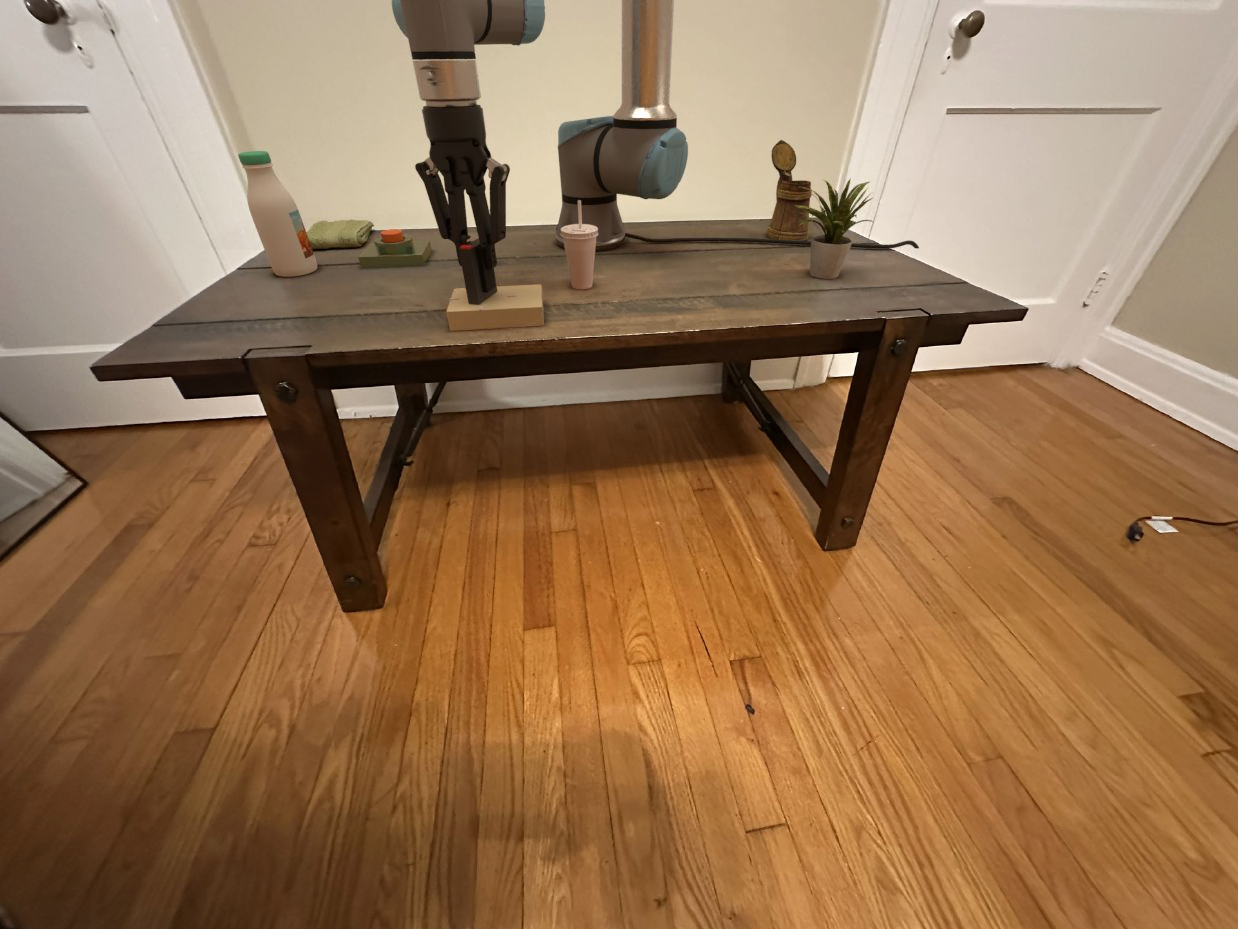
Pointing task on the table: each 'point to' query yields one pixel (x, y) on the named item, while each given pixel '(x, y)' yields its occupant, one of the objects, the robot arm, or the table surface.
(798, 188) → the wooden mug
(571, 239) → the smoothie
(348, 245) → the washcloth
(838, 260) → the house plant
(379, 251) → the switch block
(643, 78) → the robot arm
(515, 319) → the tan wooden block
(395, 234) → the button
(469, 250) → the black rectangular block
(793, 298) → the table surface
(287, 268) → the milk bottle
